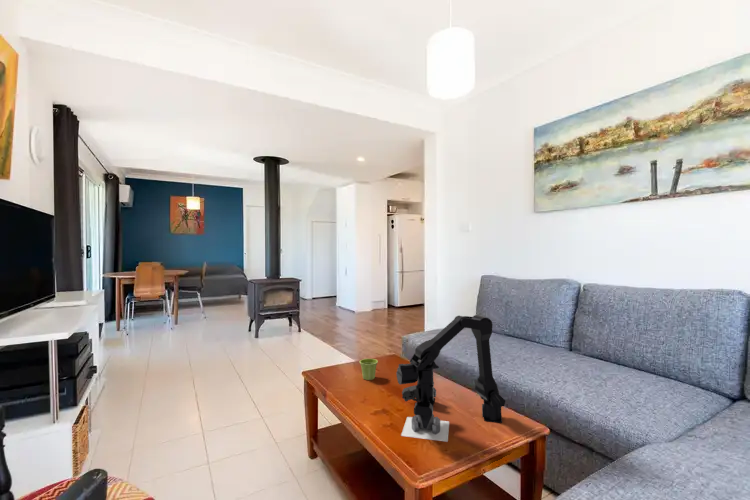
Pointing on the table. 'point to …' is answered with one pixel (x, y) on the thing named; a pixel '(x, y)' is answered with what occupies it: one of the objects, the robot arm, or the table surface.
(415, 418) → the curved wall segments
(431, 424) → the grey cylinder white dome
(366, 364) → the plant pot
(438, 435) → the mat
